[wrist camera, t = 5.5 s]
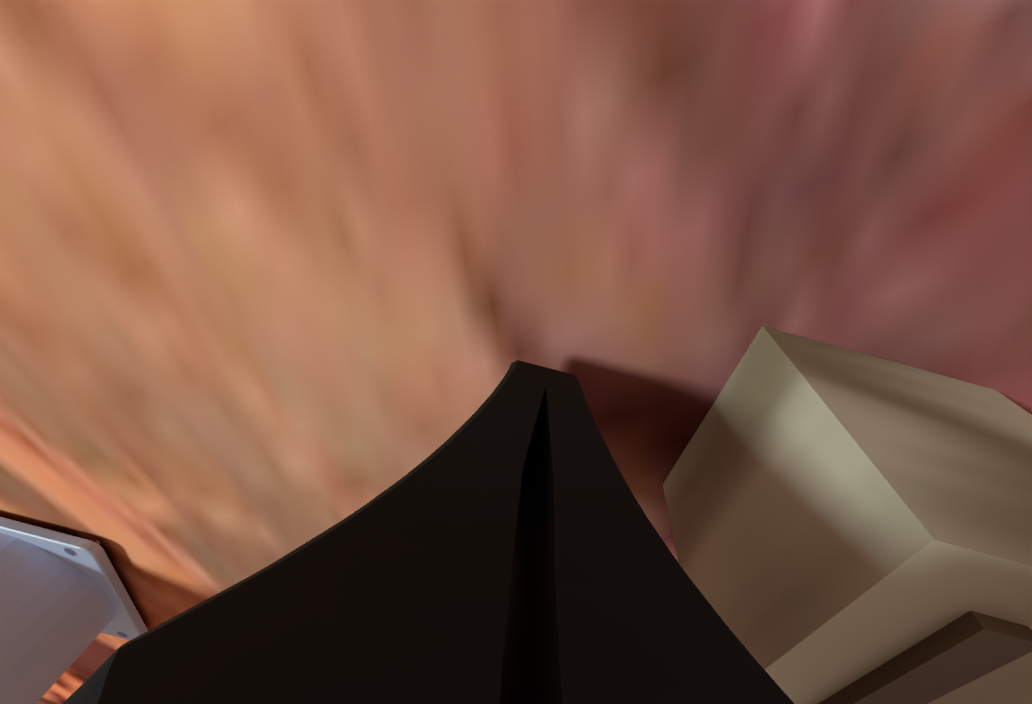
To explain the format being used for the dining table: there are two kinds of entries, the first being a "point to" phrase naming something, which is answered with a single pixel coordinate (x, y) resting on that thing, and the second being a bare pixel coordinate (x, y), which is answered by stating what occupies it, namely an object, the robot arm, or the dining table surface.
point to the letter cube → (863, 527)
